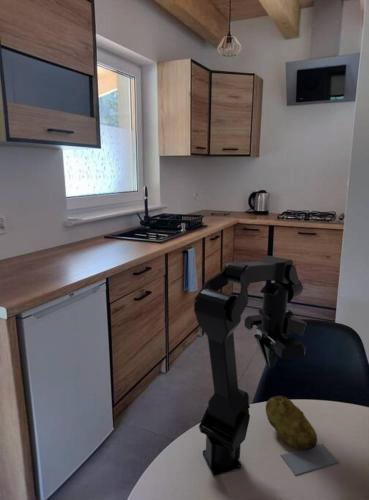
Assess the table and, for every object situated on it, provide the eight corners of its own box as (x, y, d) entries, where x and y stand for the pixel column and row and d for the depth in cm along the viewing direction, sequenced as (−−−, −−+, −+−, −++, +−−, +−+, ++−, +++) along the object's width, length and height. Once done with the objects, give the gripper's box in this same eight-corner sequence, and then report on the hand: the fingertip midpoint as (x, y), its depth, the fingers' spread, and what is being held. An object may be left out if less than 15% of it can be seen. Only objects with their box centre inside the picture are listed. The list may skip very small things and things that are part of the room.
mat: (295, 475, 73) (295, 474, 73) (280, 455, 78) (280, 454, 78) (339, 462, 76) (339, 461, 76) (322, 444, 81) (322, 443, 81)
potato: (287, 460, 76) (289, 427, 75) (259, 421, 88) (261, 392, 87) (320, 453, 78) (323, 420, 77) (289, 416, 91) (291, 388, 89)
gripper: (328, 318, 80) (321, 380, 83) (281, 292, 97) (277, 344, 101) (285, 324, 77) (280, 389, 80) (245, 296, 94) (242, 350, 97)
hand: (270, 365), depth 90 cm, fingers closed
